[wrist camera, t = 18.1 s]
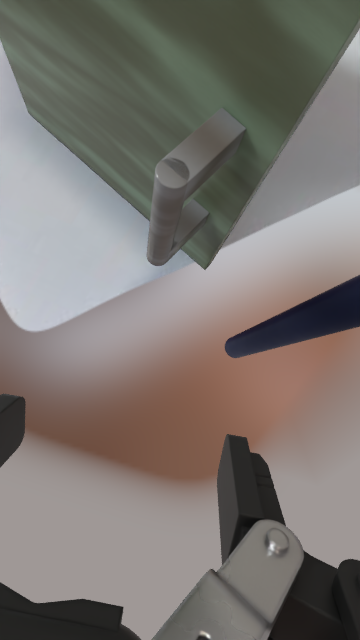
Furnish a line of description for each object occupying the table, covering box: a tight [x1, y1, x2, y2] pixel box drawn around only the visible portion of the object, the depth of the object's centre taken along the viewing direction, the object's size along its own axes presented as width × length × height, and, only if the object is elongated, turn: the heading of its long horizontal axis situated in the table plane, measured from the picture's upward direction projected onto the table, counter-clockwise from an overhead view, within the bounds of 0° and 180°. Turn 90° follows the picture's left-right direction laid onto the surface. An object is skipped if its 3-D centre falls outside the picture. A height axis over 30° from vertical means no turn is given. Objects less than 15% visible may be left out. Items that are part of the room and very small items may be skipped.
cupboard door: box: [0, 0, 360, 270], centre depth 21 cm, size 7×26×24 cm, turn 49°
